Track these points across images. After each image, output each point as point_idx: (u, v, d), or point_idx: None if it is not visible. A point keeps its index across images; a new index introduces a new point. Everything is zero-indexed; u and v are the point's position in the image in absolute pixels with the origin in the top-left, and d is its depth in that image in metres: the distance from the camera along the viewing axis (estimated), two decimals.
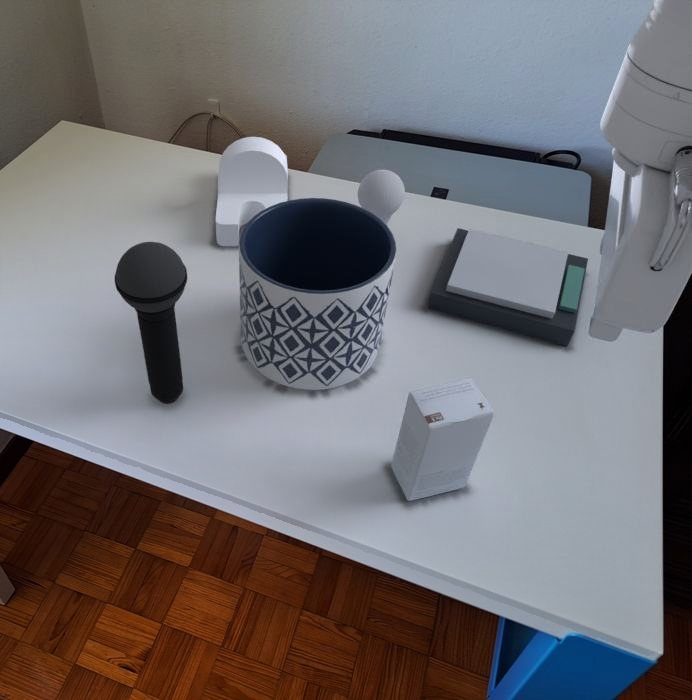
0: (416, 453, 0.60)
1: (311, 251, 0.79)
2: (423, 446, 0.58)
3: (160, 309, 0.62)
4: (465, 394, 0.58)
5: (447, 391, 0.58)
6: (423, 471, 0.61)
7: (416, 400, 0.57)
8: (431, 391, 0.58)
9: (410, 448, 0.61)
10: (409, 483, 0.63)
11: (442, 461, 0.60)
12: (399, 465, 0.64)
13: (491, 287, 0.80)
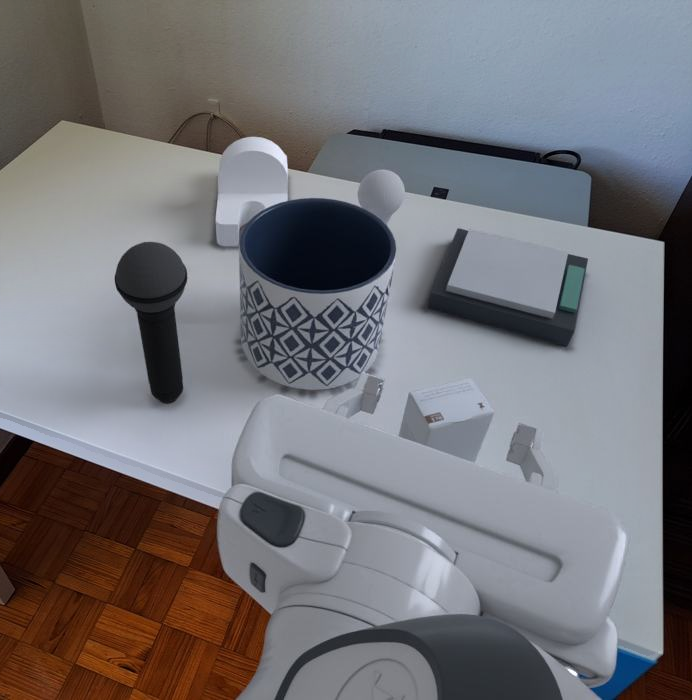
0: None
1: (311, 251, 0.79)
2: None
3: (160, 309, 0.62)
4: (465, 394, 0.58)
5: (447, 391, 0.58)
6: None
7: (416, 400, 0.57)
8: (431, 391, 0.58)
9: None
10: None
11: None
12: None
13: (491, 287, 0.80)
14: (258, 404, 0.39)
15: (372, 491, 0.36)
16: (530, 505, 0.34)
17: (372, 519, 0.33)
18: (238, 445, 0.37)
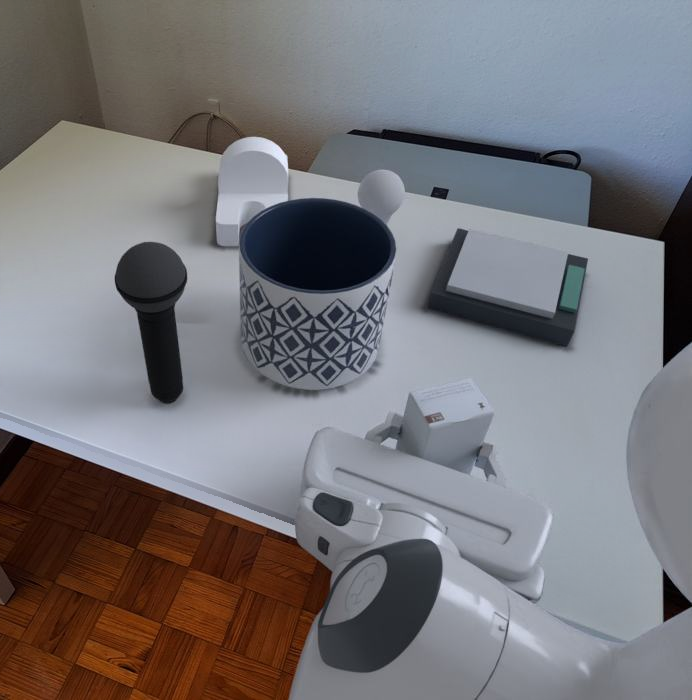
0: (416, 453, 0.60)
1: (311, 251, 0.79)
2: (424, 446, 0.58)
3: (160, 309, 0.62)
4: (466, 394, 0.58)
5: (447, 391, 0.58)
6: None
7: (416, 400, 0.57)
8: (431, 391, 0.58)
9: (410, 448, 0.61)
10: None
11: (442, 461, 0.60)
12: None
13: (491, 287, 0.80)
14: (316, 434, 0.60)
15: (393, 490, 0.56)
16: (493, 497, 0.55)
17: (394, 508, 0.54)
18: (306, 462, 0.58)
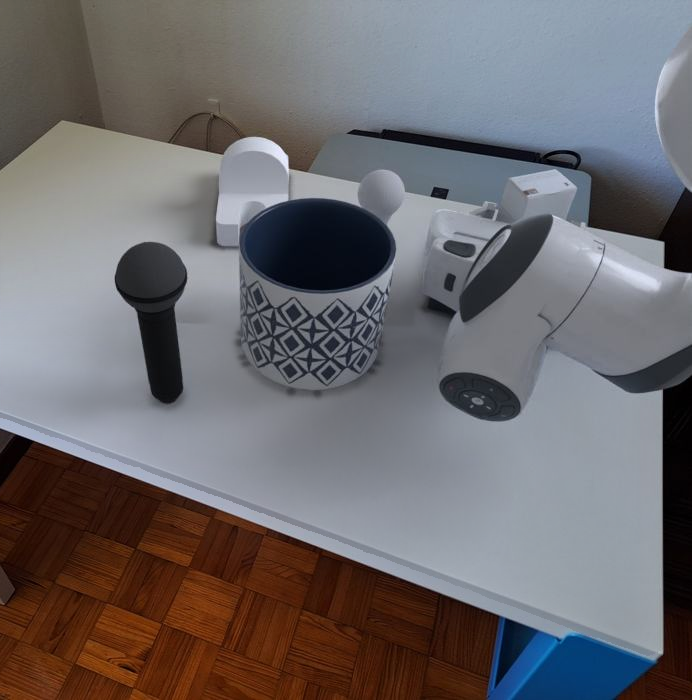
0: None
1: (311, 251, 0.79)
2: (520, 218, 0.73)
3: (160, 309, 0.62)
4: (553, 178, 0.73)
5: (538, 176, 0.74)
6: None
7: (514, 182, 0.73)
8: (526, 177, 0.74)
9: None
10: None
11: None
12: None
13: None
14: (435, 212, 0.76)
15: None
16: None
17: None
18: (431, 227, 0.73)
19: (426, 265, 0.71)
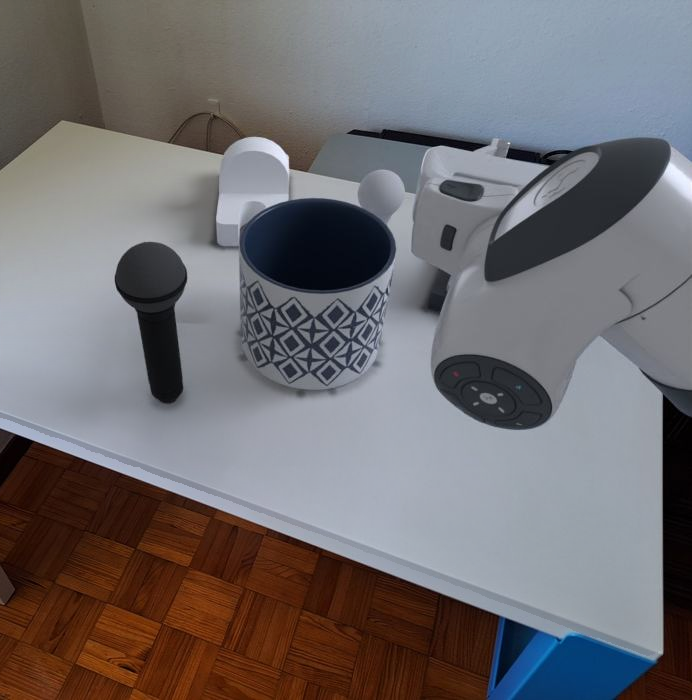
0: None
1: (311, 251, 0.79)
2: None
3: (160, 309, 0.62)
4: None
5: None
6: None
7: None
8: None
9: None
10: None
11: None
12: None
13: None
14: (429, 149, 0.57)
15: None
16: None
17: None
18: (423, 166, 0.55)
19: (416, 215, 0.53)
